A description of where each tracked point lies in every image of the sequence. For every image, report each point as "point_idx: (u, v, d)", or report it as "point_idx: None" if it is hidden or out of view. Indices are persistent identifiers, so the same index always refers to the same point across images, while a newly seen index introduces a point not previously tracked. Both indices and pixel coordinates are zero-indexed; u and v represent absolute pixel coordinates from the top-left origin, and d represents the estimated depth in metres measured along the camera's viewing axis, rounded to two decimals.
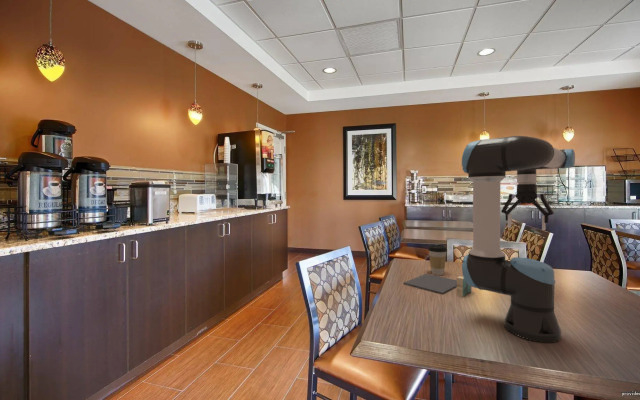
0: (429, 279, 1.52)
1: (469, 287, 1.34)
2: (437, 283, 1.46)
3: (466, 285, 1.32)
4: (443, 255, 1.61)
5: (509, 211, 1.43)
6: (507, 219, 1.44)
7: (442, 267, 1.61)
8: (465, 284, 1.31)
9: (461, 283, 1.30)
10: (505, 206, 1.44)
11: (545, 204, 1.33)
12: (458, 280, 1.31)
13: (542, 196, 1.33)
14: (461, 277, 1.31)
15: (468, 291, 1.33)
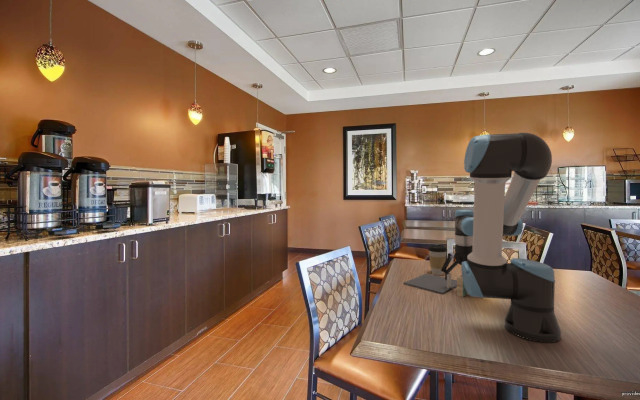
0: (429, 279, 1.52)
1: None
2: (437, 283, 1.46)
3: None
4: (443, 255, 1.61)
5: (448, 271, 1.38)
6: (446, 279, 1.39)
7: None
8: None
9: (461, 283, 1.30)
10: (444, 265, 1.39)
11: None
12: (458, 280, 1.31)
13: None
14: (461, 277, 1.31)
15: None
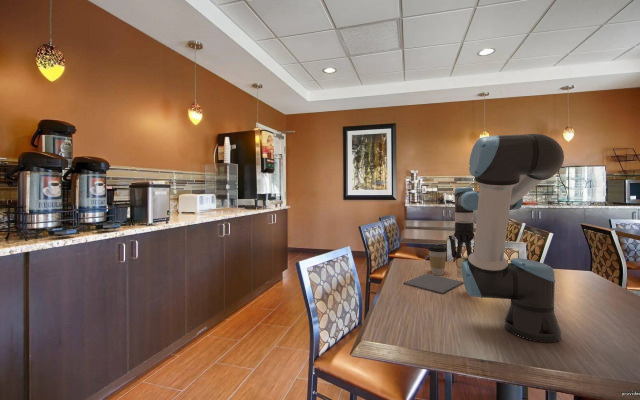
0: (429, 279, 1.52)
1: None
2: (437, 283, 1.46)
3: None
4: (443, 255, 1.61)
5: (458, 255, 1.33)
6: None
7: (442, 267, 1.61)
8: None
9: (461, 264, 1.30)
10: (452, 249, 1.35)
11: None
12: (458, 261, 1.31)
13: None
14: (461, 259, 1.31)
15: None
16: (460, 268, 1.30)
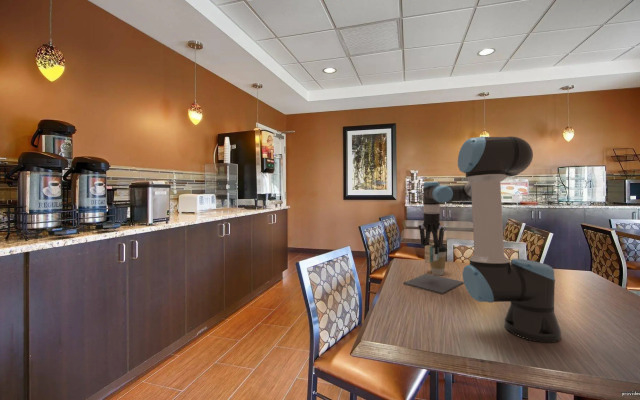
0: (429, 279, 1.52)
1: None
2: (437, 283, 1.46)
3: None
4: (443, 255, 1.61)
5: (426, 242, 1.48)
6: None
7: (442, 267, 1.61)
8: (432, 252, 1.46)
9: (428, 251, 1.45)
10: (421, 238, 1.50)
11: (439, 237, 1.43)
12: (425, 248, 1.46)
13: (441, 229, 1.42)
14: (428, 245, 1.46)
15: None
16: (427, 254, 1.45)
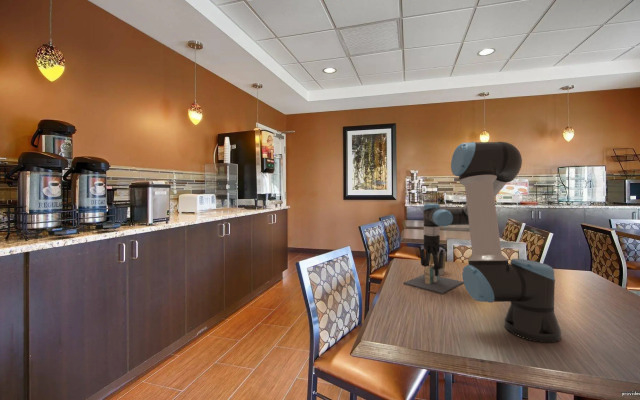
0: None
1: None
2: (437, 283, 1.46)
3: None
4: None
5: (426, 264, 1.49)
6: None
7: None
8: (432, 273, 1.46)
9: (428, 272, 1.45)
10: (421, 259, 1.51)
11: (439, 259, 1.44)
12: (426, 269, 1.46)
13: (441, 252, 1.43)
14: (429, 266, 1.47)
15: None
16: (427, 275, 1.46)
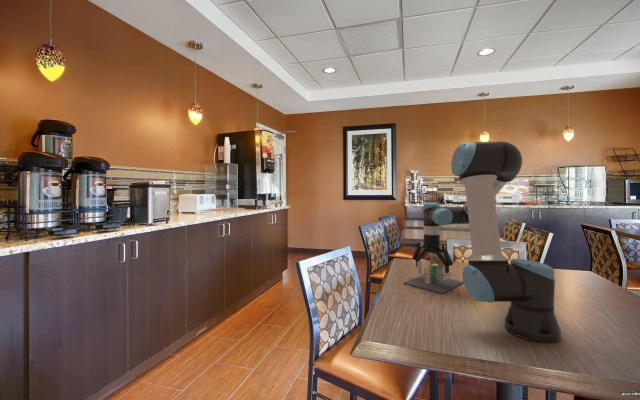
0: None
1: (436, 276, 1.49)
2: (437, 283, 1.46)
3: (433, 274, 1.47)
4: (443, 255, 1.61)
5: (418, 258, 1.52)
6: None
7: (442, 267, 1.61)
8: (432, 273, 1.46)
9: (428, 272, 1.45)
10: (415, 253, 1.53)
11: (445, 255, 1.41)
12: (426, 269, 1.46)
13: (443, 247, 1.42)
14: (429, 266, 1.47)
15: (435, 279, 1.49)
16: (427, 275, 1.46)
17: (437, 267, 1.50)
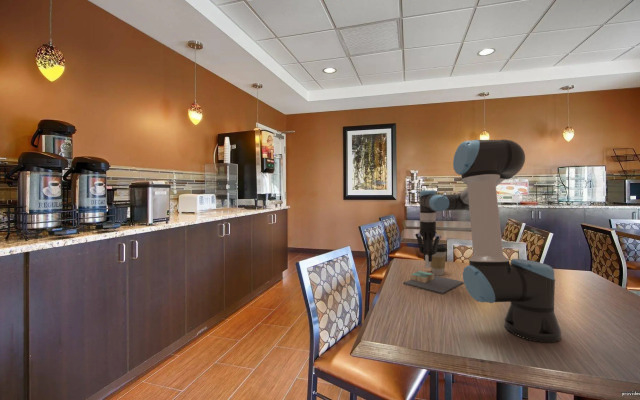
0: None
1: (426, 273, 1.53)
2: (437, 283, 1.46)
3: (420, 274, 1.52)
4: (443, 255, 1.61)
5: (425, 250, 1.49)
6: (425, 259, 1.50)
7: (442, 267, 1.61)
8: (418, 274, 1.52)
9: (414, 276, 1.51)
10: (419, 246, 1.51)
11: (434, 245, 1.45)
12: (412, 278, 1.52)
13: (437, 238, 1.44)
14: None
15: (428, 274, 1.51)
16: (417, 278, 1.50)
17: (420, 271, 1.57)
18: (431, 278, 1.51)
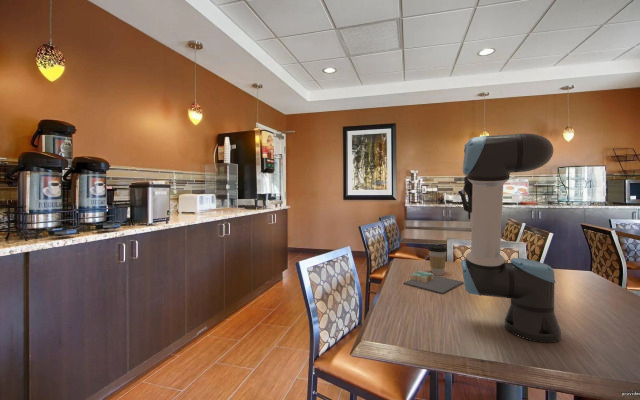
0: None
1: (426, 273, 1.53)
2: (437, 283, 1.46)
3: (420, 274, 1.52)
4: (443, 255, 1.61)
5: (470, 208, 1.39)
6: (470, 217, 1.39)
7: (442, 267, 1.61)
8: (418, 274, 1.52)
9: (414, 276, 1.51)
10: (464, 203, 1.41)
11: None
12: (412, 278, 1.52)
13: None
14: None
15: (428, 274, 1.51)
16: (417, 278, 1.50)
17: (420, 271, 1.57)
18: (431, 278, 1.51)
